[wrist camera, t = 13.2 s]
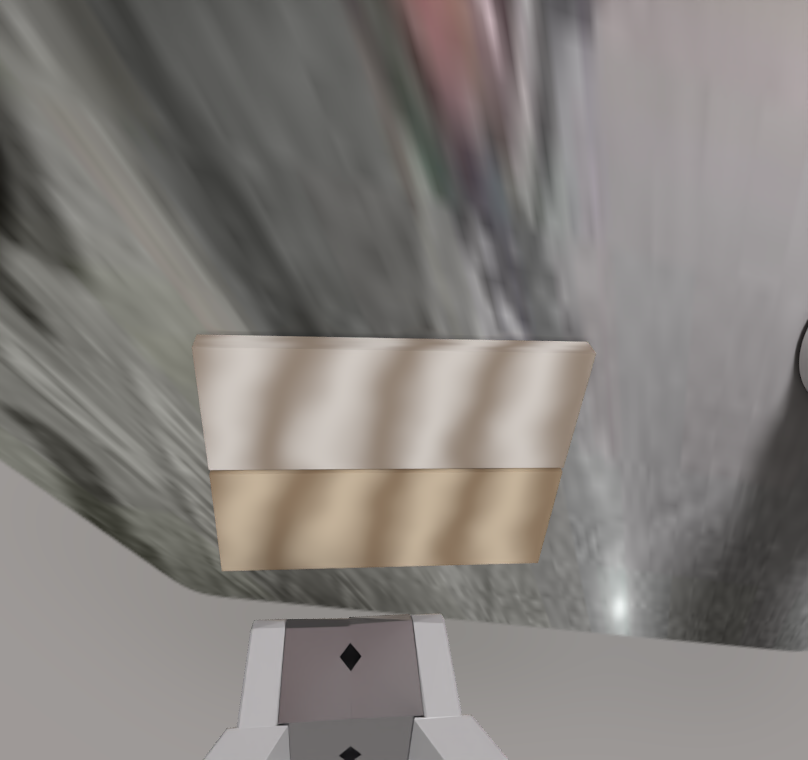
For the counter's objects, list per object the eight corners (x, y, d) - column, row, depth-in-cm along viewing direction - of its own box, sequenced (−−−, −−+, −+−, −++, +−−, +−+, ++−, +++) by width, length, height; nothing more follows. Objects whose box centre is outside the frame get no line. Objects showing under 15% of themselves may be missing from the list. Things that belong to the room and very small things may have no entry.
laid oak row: (555, 458, 47) (562, 471, 45) (532, 548, 52) (537, 562, 50) (213, 460, 44) (209, 474, 42) (225, 555, 49) (222, 571, 47)
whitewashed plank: (587, 341, 41) (596, 353, 40) (556, 453, 46) (563, 467, 45) (197, 334, 38) (191, 347, 37) (212, 455, 43) (208, 470, 42)
